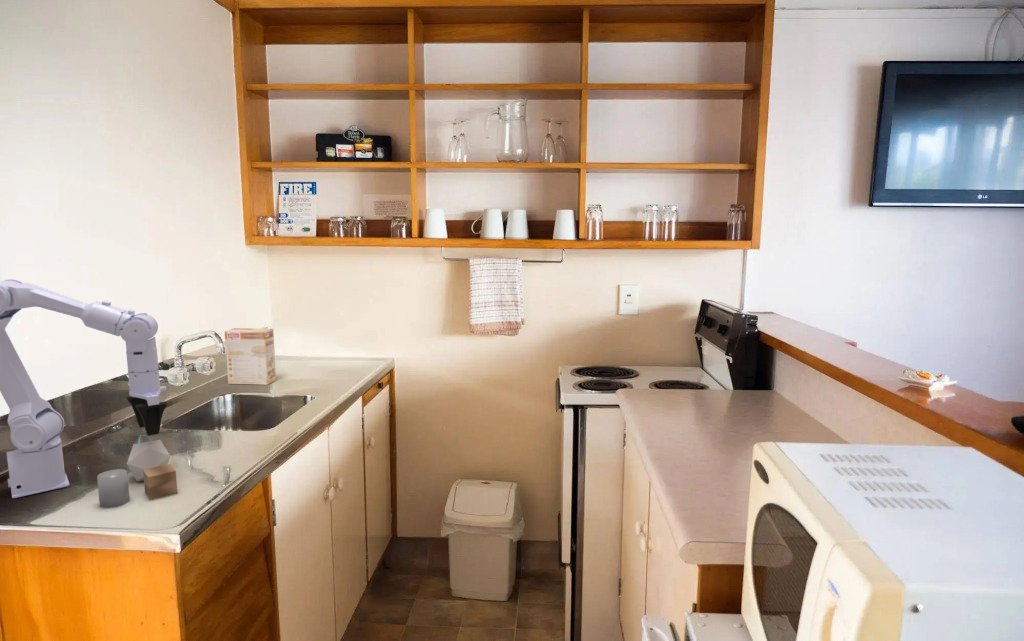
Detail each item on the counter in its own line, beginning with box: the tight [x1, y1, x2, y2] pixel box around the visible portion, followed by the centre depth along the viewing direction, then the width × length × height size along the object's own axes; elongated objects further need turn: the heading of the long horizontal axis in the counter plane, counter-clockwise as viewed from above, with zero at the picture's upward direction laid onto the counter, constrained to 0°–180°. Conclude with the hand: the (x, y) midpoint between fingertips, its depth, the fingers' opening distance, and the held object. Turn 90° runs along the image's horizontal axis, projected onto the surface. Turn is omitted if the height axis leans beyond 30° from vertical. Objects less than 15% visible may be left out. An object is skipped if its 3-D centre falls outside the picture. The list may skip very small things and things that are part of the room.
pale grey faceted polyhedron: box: [126, 439, 171, 483], centre depth 133 cm, size 8×9×10 cm
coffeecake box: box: [224, 327, 277, 386], centre depth 217 cm, size 15×7×20 cm, turn 84°
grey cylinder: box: [96, 468, 131, 509], centre depth 121 cm, size 5×5×6 cm
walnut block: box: [143, 463, 178, 501], centre depth 125 cm, size 5×5×5 cm
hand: (149, 430), depth 133 cm, fingers open, 7 cm apart
